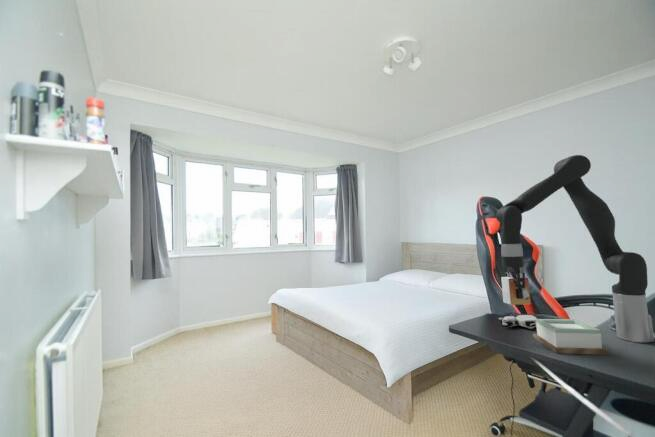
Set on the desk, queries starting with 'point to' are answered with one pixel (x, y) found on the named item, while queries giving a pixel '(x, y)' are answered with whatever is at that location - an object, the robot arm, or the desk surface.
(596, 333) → the base brick
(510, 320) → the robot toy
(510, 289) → the small box
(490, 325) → the desk surface
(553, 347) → the build plate
